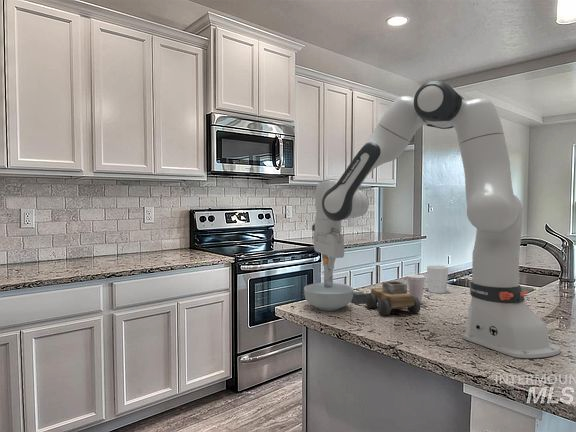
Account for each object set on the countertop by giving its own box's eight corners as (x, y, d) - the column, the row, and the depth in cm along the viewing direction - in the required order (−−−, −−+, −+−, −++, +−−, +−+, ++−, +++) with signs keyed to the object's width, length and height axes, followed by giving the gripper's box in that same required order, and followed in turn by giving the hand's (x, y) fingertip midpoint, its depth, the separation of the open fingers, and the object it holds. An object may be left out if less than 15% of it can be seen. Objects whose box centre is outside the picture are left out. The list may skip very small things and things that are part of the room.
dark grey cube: (366, 303, 143) (366, 294, 143) (356, 304, 142) (356, 294, 142) (361, 301, 147) (361, 291, 147) (351, 301, 146) (351, 292, 146)
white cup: (451, 293, 156) (451, 268, 156) (430, 294, 156) (430, 268, 156) (443, 289, 164) (443, 265, 164) (424, 289, 164) (424, 265, 164)
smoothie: (423, 300, 146) (423, 262, 145) (427, 305, 139) (427, 265, 139) (405, 300, 146) (405, 262, 146) (408, 305, 140) (408, 265, 140)
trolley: (420, 314, 129) (420, 286, 128) (385, 317, 125) (385, 288, 125) (397, 303, 142) (397, 278, 142) (365, 306, 139) (365, 280, 139)
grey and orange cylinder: (334, 287, 136) (334, 258, 136) (325, 288, 135) (325, 258, 135) (330, 285, 139) (330, 256, 139) (322, 286, 138) (322, 257, 138)
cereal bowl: (294, 308, 137) (293, 287, 137) (323, 299, 149) (323, 280, 149) (334, 317, 126) (334, 295, 125) (363, 307, 138) (363, 286, 138)
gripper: (349, 229, 127) (349, 272, 128) (326, 225, 147) (326, 263, 148) (330, 229, 126) (330, 273, 126) (310, 225, 145) (310, 263, 146)
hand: (328, 267), depth 137 cm, fingers closed on grey and orange cylinder, 3 cm apart
